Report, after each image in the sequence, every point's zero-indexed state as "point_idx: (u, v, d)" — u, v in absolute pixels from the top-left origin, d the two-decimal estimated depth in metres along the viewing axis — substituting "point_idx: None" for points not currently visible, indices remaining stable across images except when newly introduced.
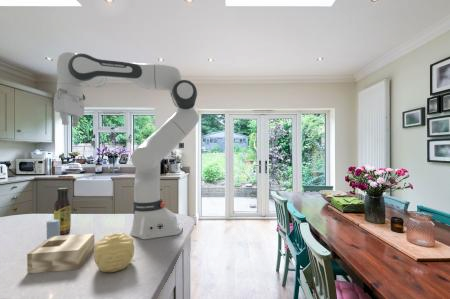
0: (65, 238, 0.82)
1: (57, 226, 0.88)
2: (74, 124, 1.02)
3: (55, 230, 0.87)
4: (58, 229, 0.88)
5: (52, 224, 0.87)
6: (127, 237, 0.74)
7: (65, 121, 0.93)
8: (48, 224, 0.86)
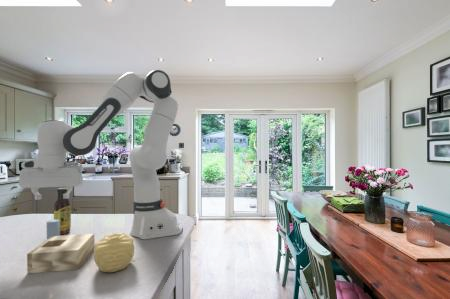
0: (65, 238, 0.82)
1: (57, 226, 0.88)
2: (40, 196, 0.87)
3: (55, 230, 0.87)
4: (58, 229, 0.88)
5: (52, 224, 0.87)
6: (127, 237, 0.74)
7: (68, 194, 0.89)
8: (48, 224, 0.86)
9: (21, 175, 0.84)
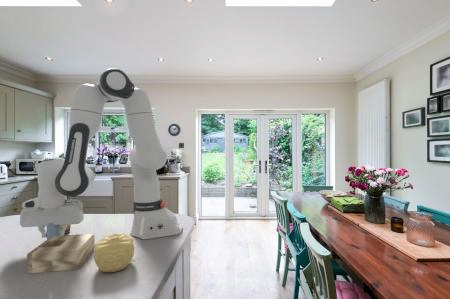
0: (65, 238, 0.82)
1: (57, 226, 0.88)
2: None
3: (55, 230, 0.87)
4: (58, 229, 0.88)
5: (52, 224, 0.87)
6: (127, 237, 0.74)
7: (63, 232, 0.89)
8: (48, 224, 0.86)
9: (22, 215, 0.84)
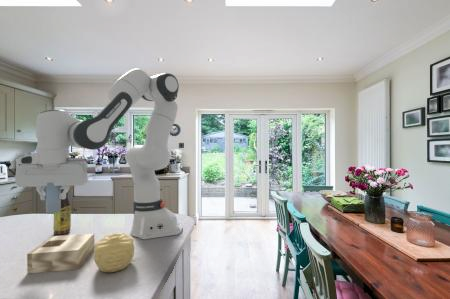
0: (65, 238, 0.82)
1: (58, 187, 0.77)
2: None
3: (55, 192, 0.76)
4: (59, 191, 0.78)
5: (52, 184, 0.76)
6: (127, 237, 0.74)
7: (65, 195, 0.79)
8: (47, 184, 0.75)
9: (17, 172, 0.73)
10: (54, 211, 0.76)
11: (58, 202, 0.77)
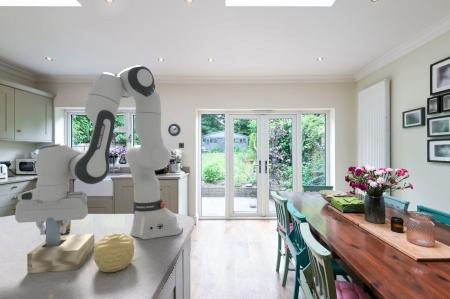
0: (65, 238, 0.82)
1: (58, 222, 0.77)
2: None
3: (55, 226, 0.76)
4: (59, 225, 0.77)
5: (52, 219, 0.76)
6: (127, 237, 0.74)
7: (65, 228, 0.78)
8: (47, 219, 0.75)
9: (17, 208, 0.73)
10: None
11: (58, 236, 0.77)
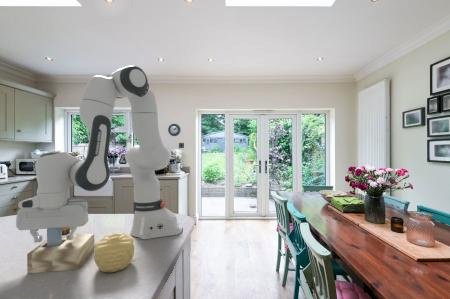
0: (65, 238, 0.82)
1: (59, 232, 0.77)
2: (40, 238, 0.77)
3: (56, 237, 0.76)
4: (60, 236, 0.78)
5: (53, 230, 0.76)
6: (127, 237, 0.74)
7: (72, 235, 0.79)
8: (49, 230, 0.76)
9: (18, 216, 0.74)
10: None
11: None
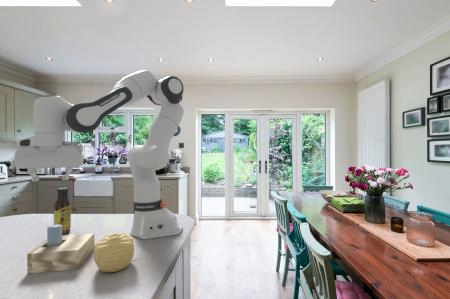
0: (65, 238, 0.82)
1: (59, 232, 0.77)
2: (37, 178, 0.82)
3: (57, 237, 0.77)
4: (60, 235, 0.78)
5: (54, 230, 0.76)
6: (127, 237, 0.74)
7: (68, 176, 0.84)
8: (49, 230, 0.76)
9: (16, 155, 0.78)
10: None
11: None
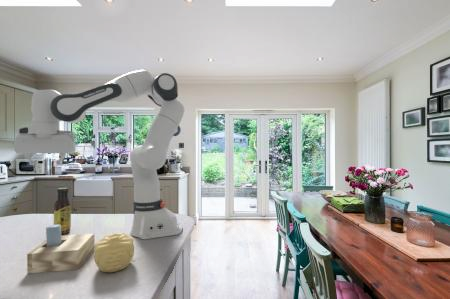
0: (65, 238, 0.82)
1: (58, 232, 0.77)
2: (34, 162, 0.92)
3: (56, 237, 0.77)
4: (60, 235, 0.78)
5: (53, 230, 0.76)
6: (127, 237, 0.74)
7: (61, 161, 0.94)
8: (48, 230, 0.76)
9: (16, 141, 0.89)
10: None
11: None
